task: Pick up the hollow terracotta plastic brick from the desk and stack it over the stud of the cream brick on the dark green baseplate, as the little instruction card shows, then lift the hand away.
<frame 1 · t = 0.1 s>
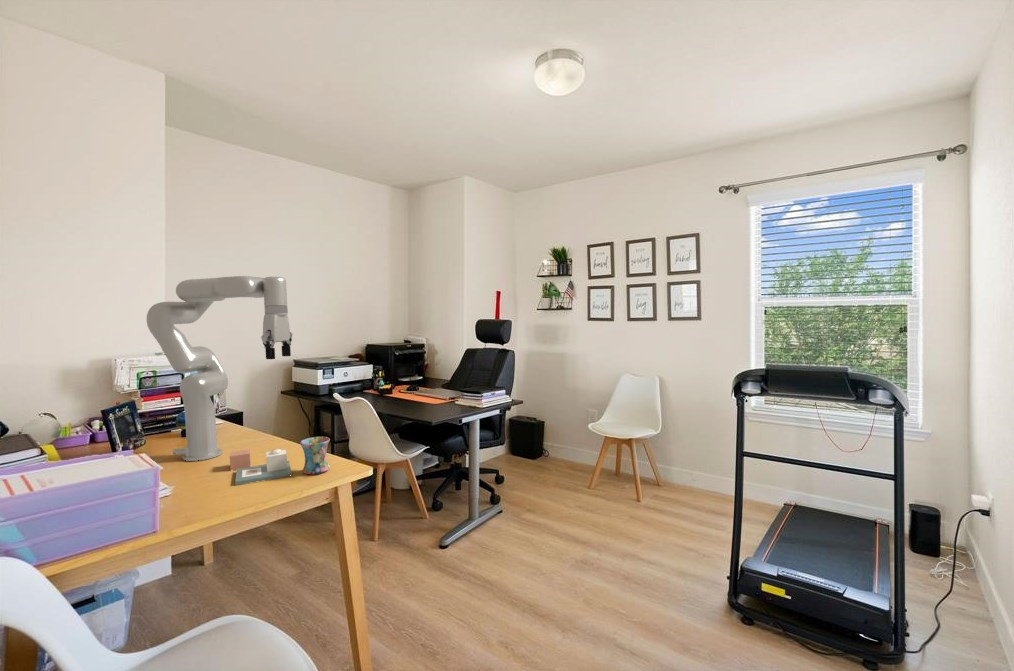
hand: (278, 357, 173), 37 cm above the table, tool pointing down, fingers open, 9 cm apart
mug: (318, 473, 158), on the table
baseplate: (263, 474, 158), on the table
terracotta brick: (240, 466, 166), on the table
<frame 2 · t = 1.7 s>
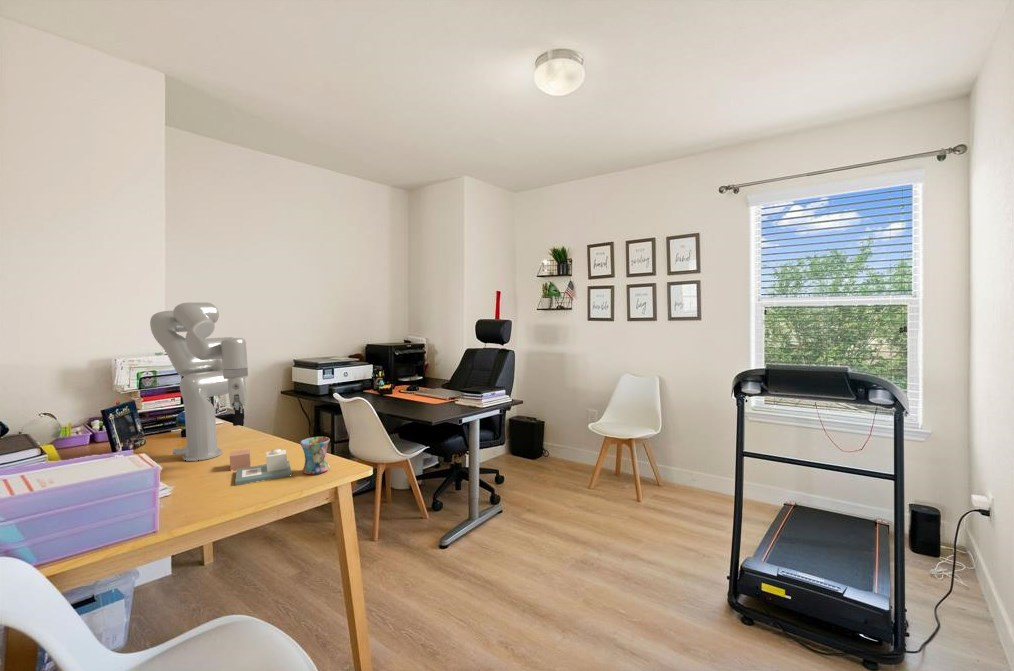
hand: (238, 422, 165), 16 cm above the table, tool pointing down, fingers open, 9 cm apart
nothing on the table moved.
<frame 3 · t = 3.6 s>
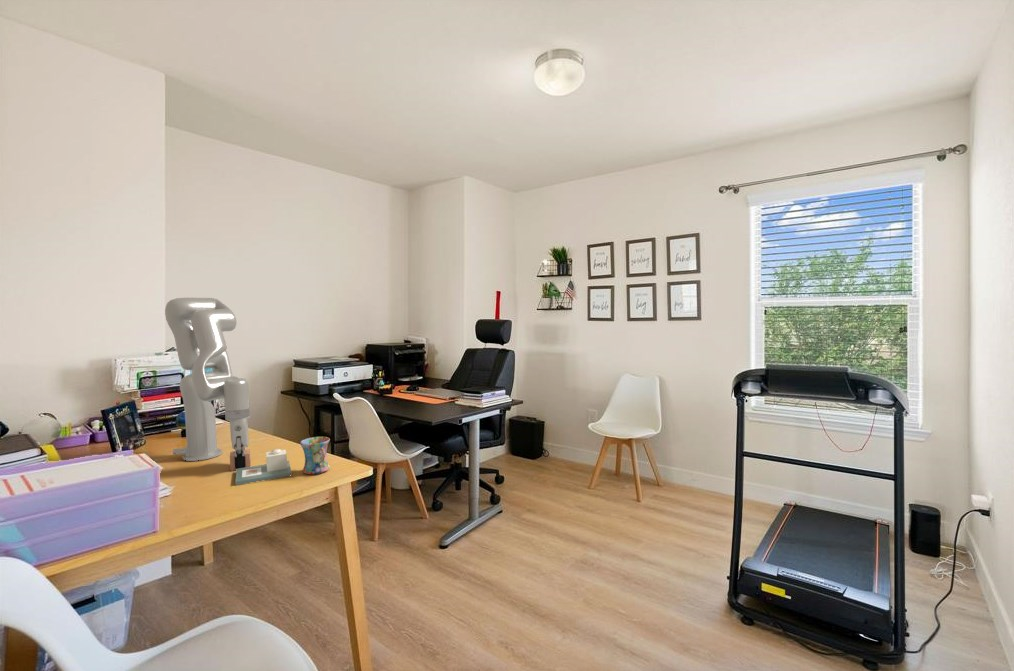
hand: (240, 464, 166), 1 cm above the table, tool pointing down, fingers closed on terracotta brick, 6 cm apart
terracotta brick: (240, 466, 166), on the table, touching gripper
everything else where it was.
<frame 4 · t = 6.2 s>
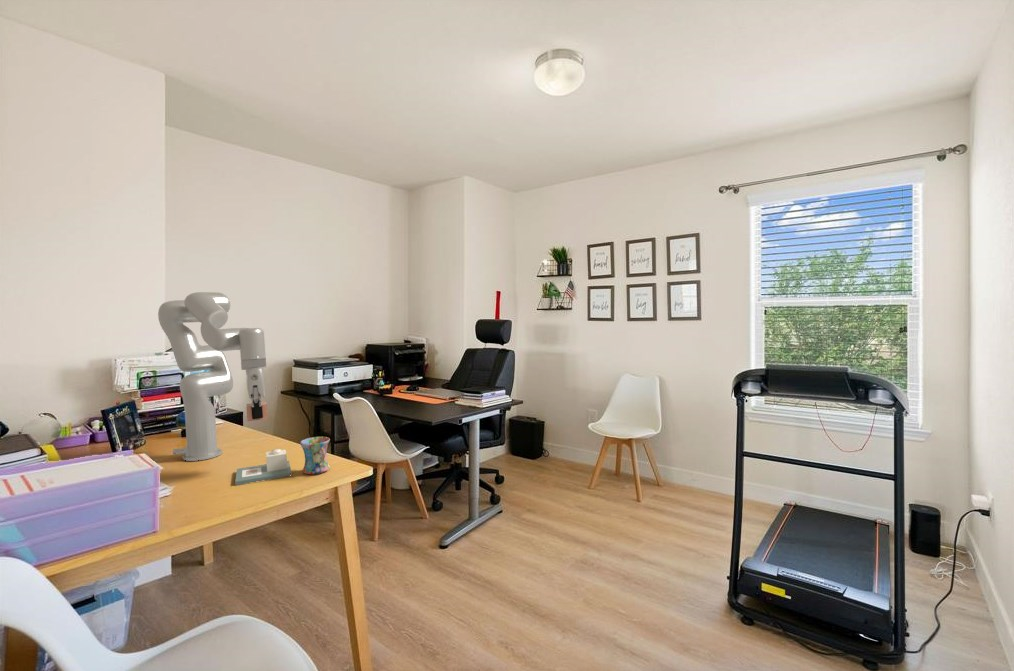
hand: (257, 416, 162), 18 cm above the table, tool pointing down, fingers closed on terracotta brick, 6 cm apart
terracotta brick: (257, 418, 162), point 18 cm above the table, touching gripper
everything else where it was.
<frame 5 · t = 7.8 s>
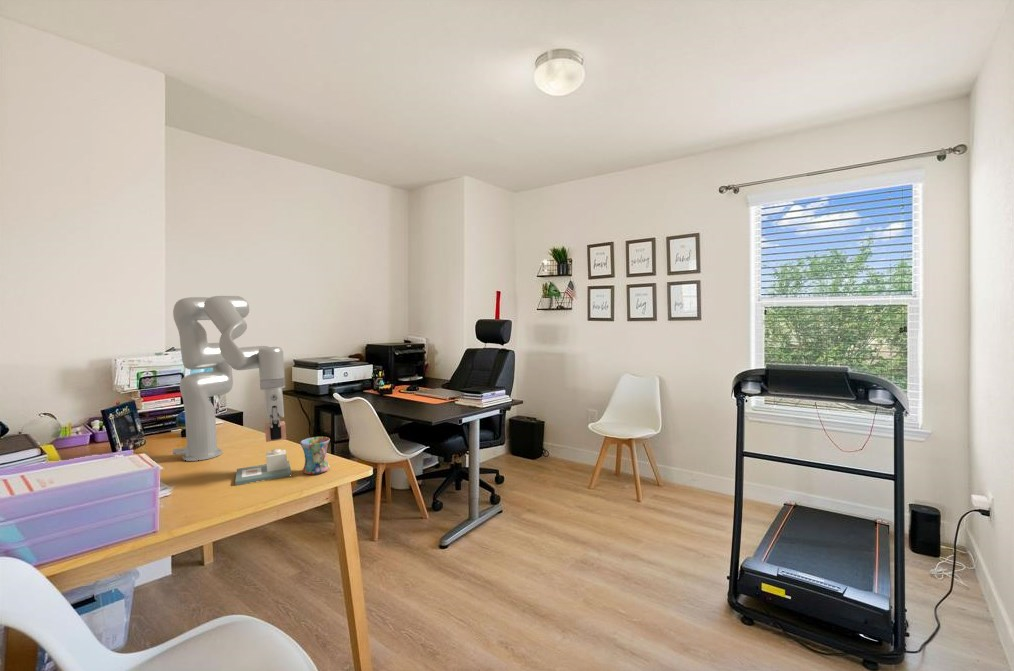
hand: (275, 436, 160), 12 cm above the table, tool pointing down, fingers closed on terracotta brick, 6 cm apart
terracotta brick: (275, 438, 160), point 11 cm above the table, touching gripper
everything else where it was.
when the fingers open (8 cm above the table, at t = 9.0 s): terracotta brick drops 1 cm, resting on baseplate.
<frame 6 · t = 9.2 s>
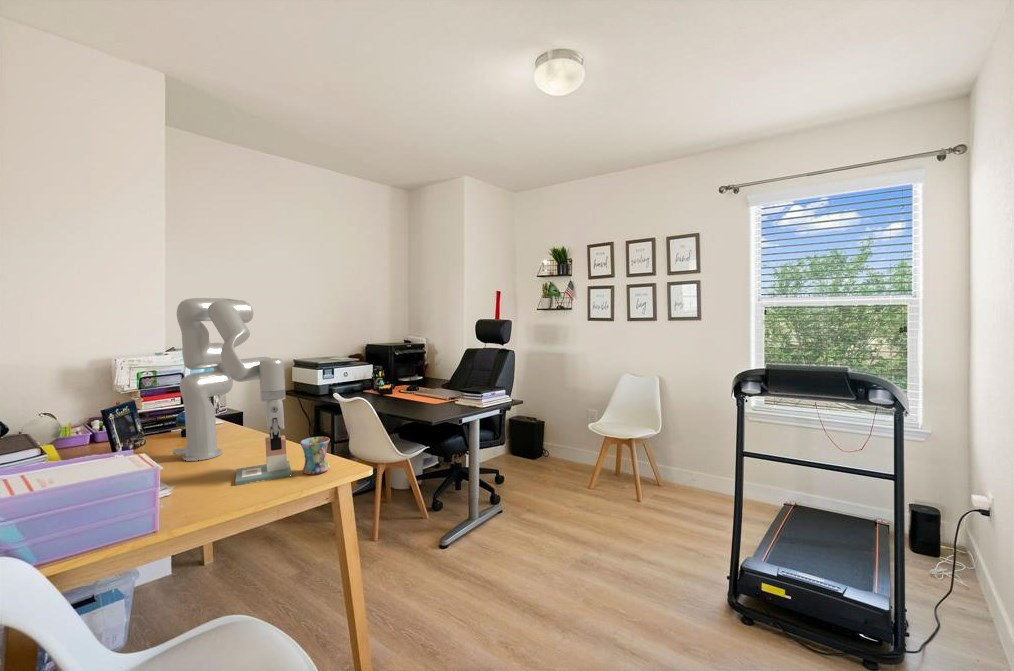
hand: (275, 446, 160), 9 cm above the table, tool pointing down, fingers open, 8 cm apart
terracotta brick: (276, 453, 160), point 6 cm above the table, touching baseplate
everything else where it was.
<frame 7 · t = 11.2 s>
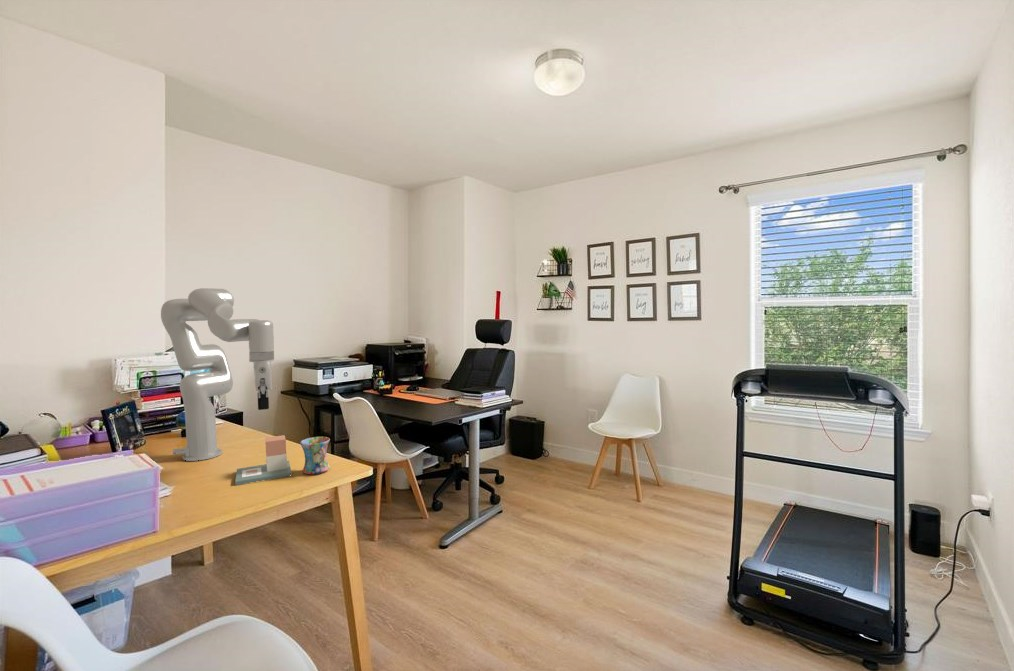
hand: (263, 406, 162), 22 cm above the table, tool pointing down, fingers open, 9 cm apart
nothing on the table moved.
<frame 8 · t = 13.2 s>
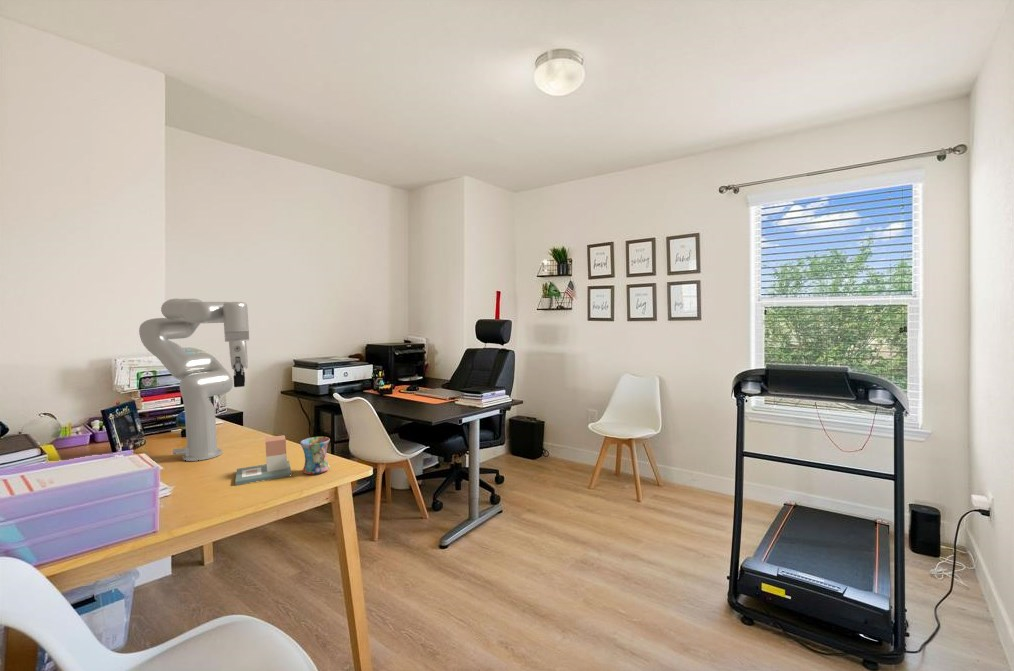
hand: (239, 384, 168), 28 cm above the table, tool pointing down, fingers open, 9 cm apart
nothing on the table moved.
at the end: terracotta brick 0.0 cm from the target spot on the baseplate, point 6.2 cm above the baseplate's base; terracotta brick tilted 0°; the gripper is holding nothing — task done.
